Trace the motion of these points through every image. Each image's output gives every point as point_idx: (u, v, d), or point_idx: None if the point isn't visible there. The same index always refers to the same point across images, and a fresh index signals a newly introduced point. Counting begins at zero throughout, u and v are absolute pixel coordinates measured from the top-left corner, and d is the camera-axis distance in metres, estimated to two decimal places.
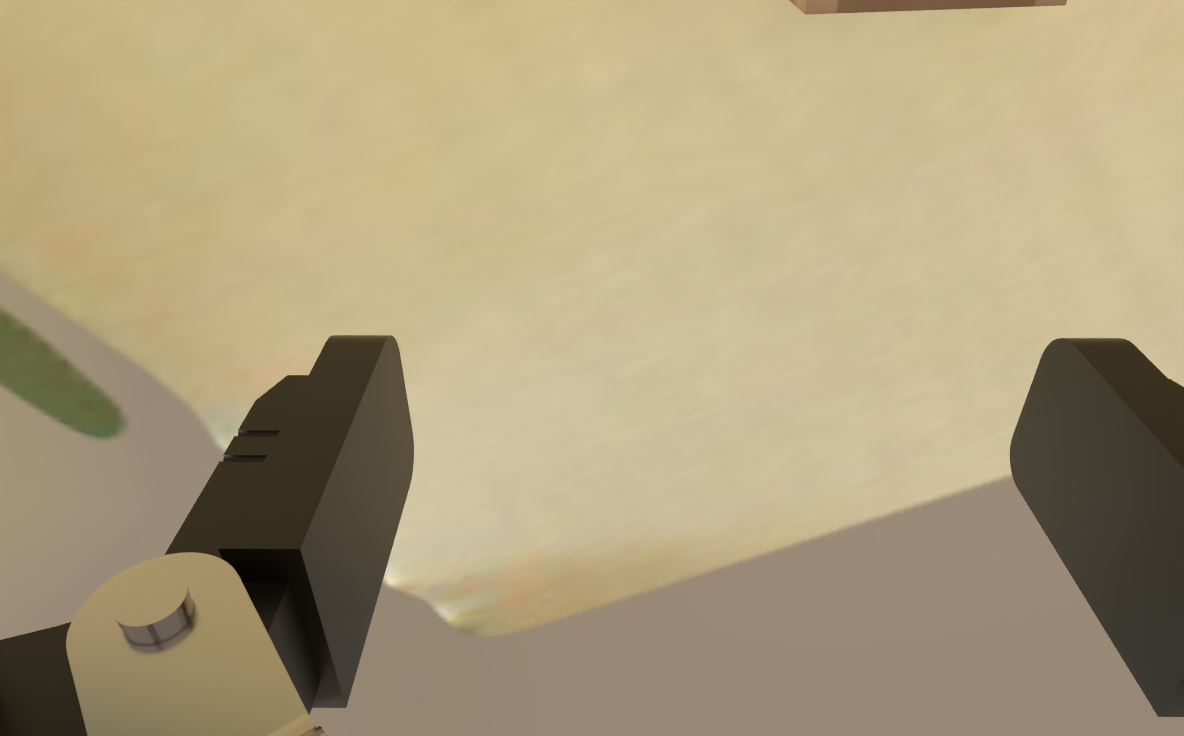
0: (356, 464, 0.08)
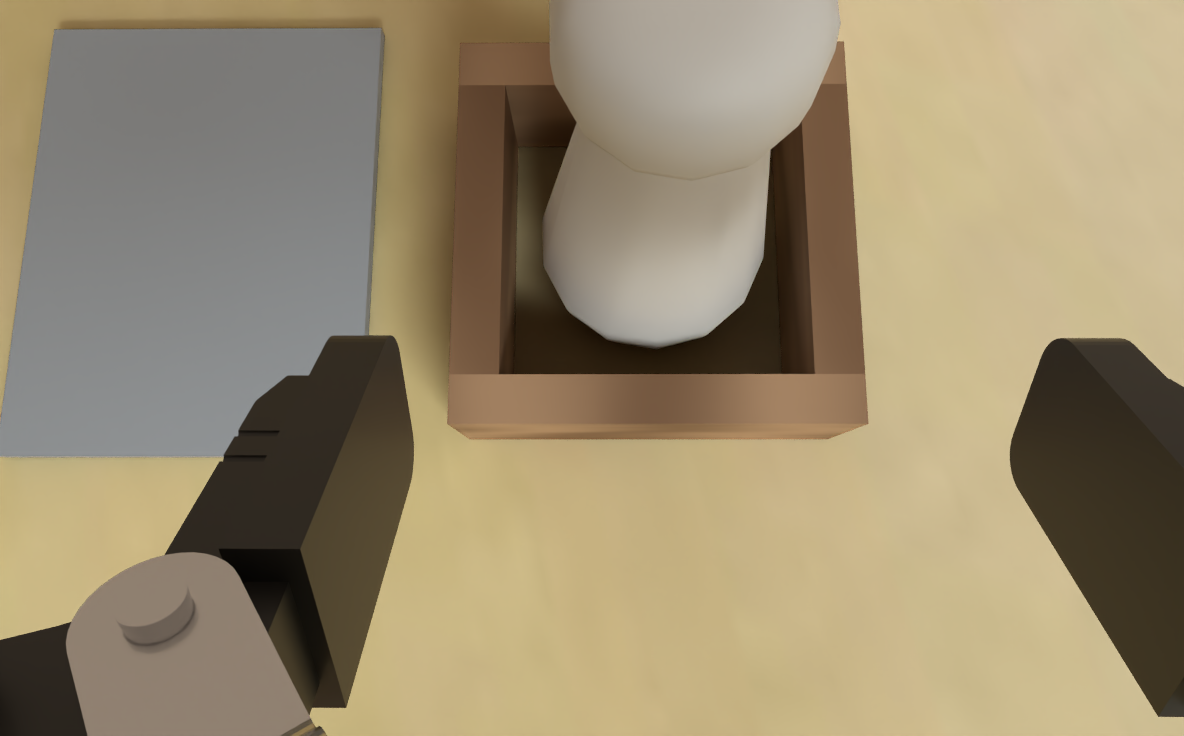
0: (356, 464, 0.08)
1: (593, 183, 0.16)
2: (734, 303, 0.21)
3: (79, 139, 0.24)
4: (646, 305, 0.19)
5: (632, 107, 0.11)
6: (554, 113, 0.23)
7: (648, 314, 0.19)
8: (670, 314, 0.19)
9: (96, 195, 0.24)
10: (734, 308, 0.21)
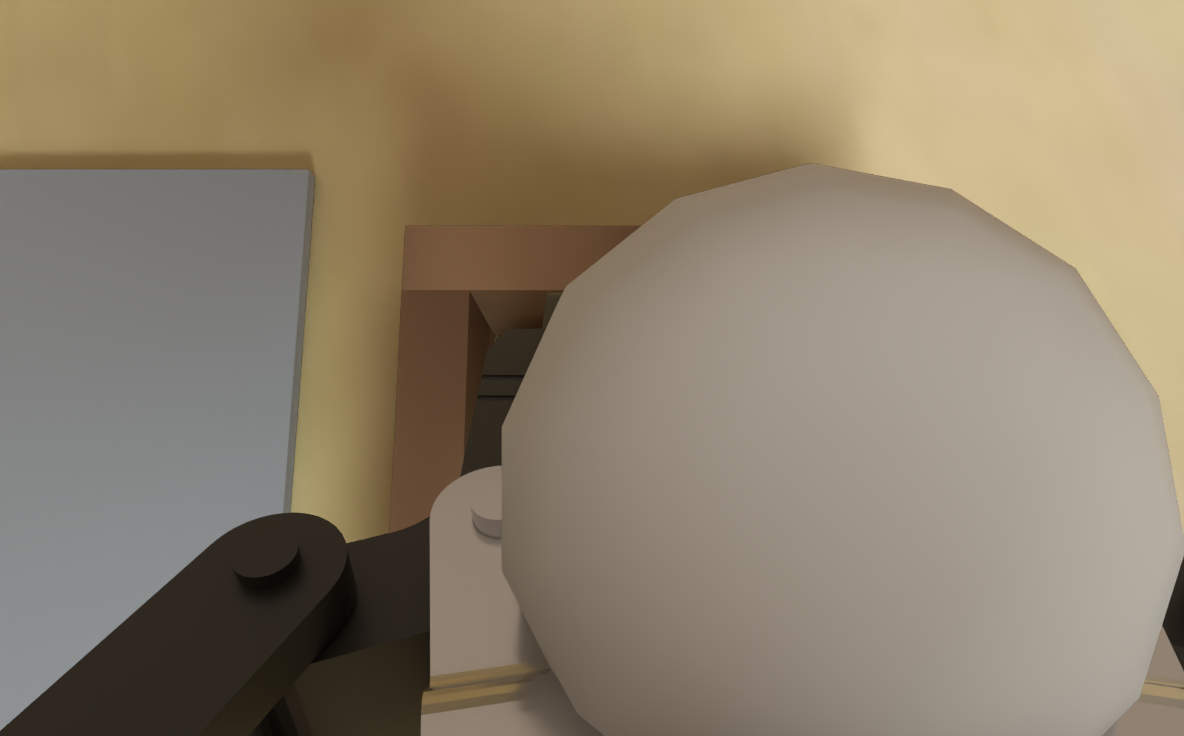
0: None
1: None
2: None
3: None
4: None
5: None
6: (543, 312, 0.16)
7: None
8: None
9: None
10: None
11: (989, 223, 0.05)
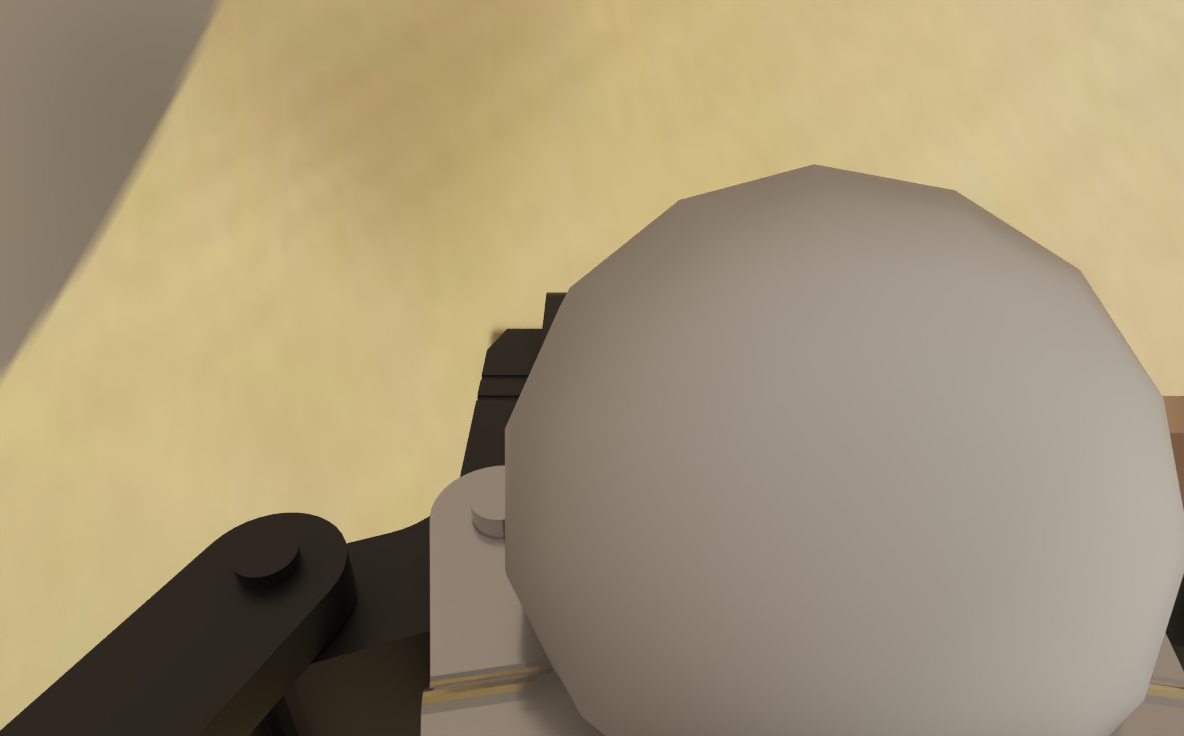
0: None
1: None
2: None
3: None
4: None
5: None
6: None
7: None
8: None
9: None
10: None
11: (993, 224, 0.05)
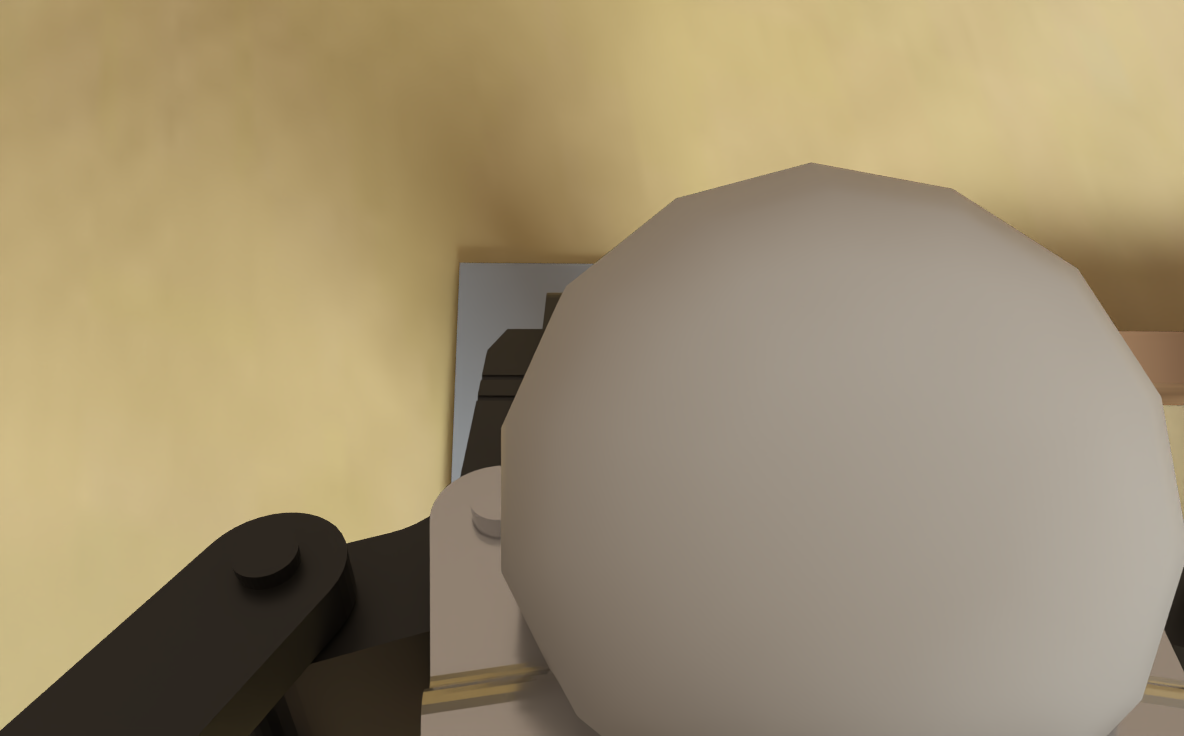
0: None
1: None
2: None
3: None
4: None
5: None
6: None
7: None
8: None
9: None
10: None
11: (990, 223, 0.05)
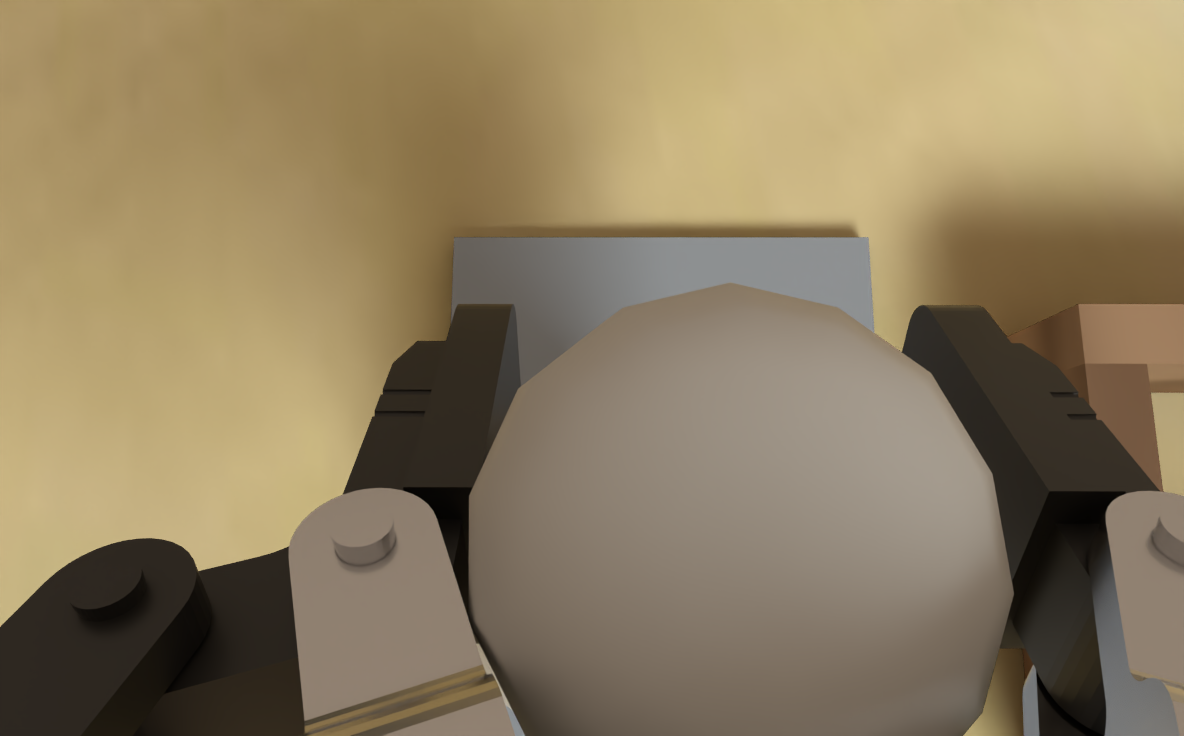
0: (499, 419, 0.09)
1: None
2: None
3: None
4: None
5: None
6: (1157, 377, 0.17)
7: None
8: None
9: None
10: None
11: (867, 336, 0.07)
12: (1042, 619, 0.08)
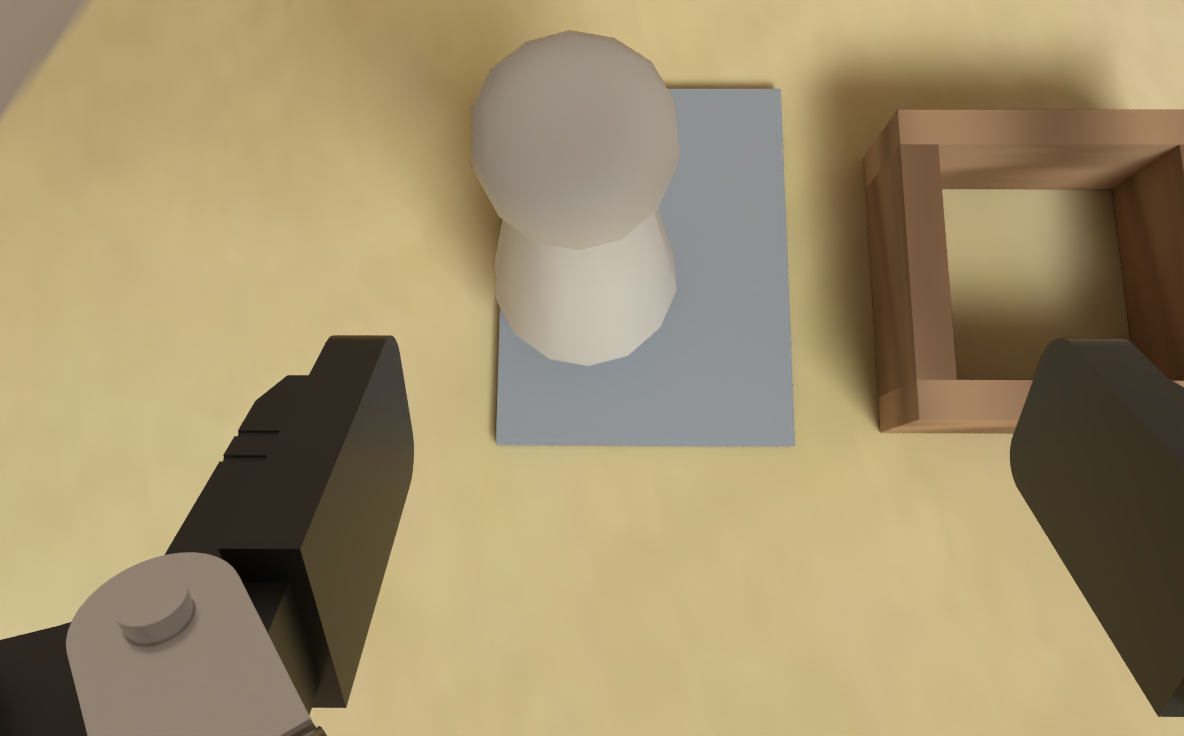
0: (356, 464, 0.08)
1: (518, 243, 0.20)
2: (650, 328, 0.25)
3: None
4: (572, 332, 0.23)
5: (525, 205, 0.16)
6: (955, 165, 0.28)
7: (576, 339, 0.24)
8: (593, 339, 0.24)
9: None
10: (651, 332, 0.25)
11: (621, 46, 0.16)
12: None
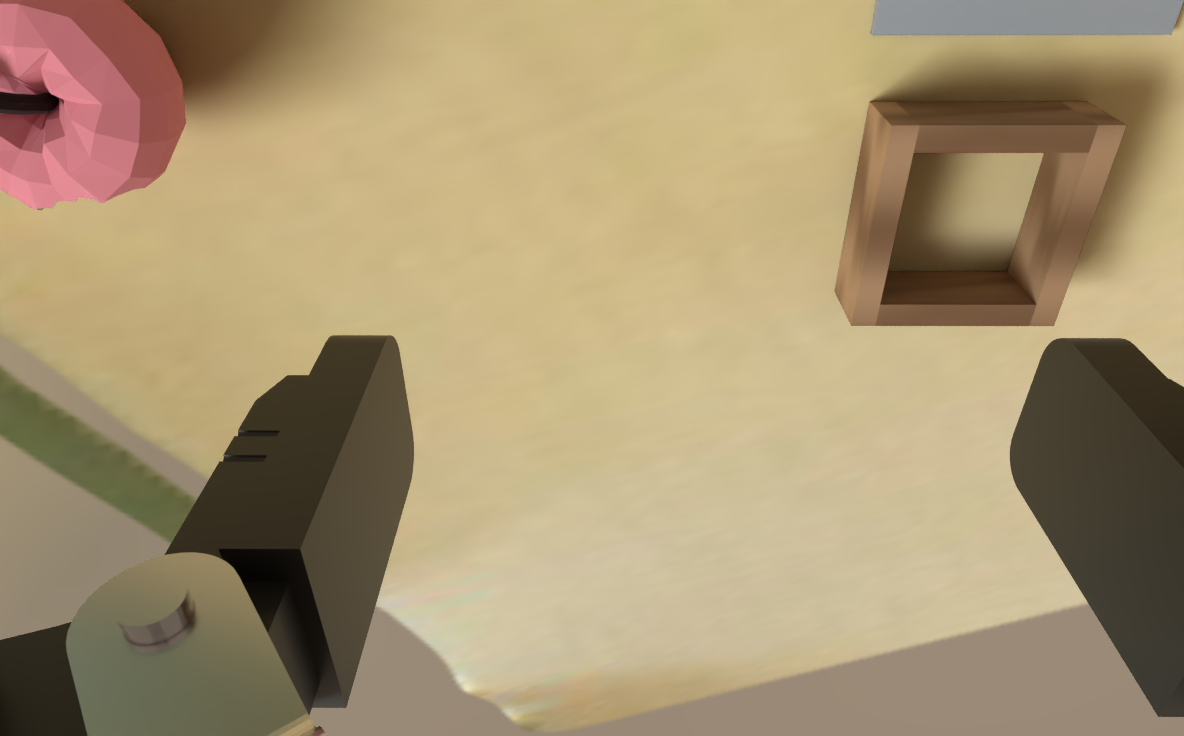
0: (356, 464, 0.08)
1: None
2: None
3: None
4: None
5: None
6: (1063, 166, 0.38)
7: None
8: None
9: None
10: None
11: None
12: None
